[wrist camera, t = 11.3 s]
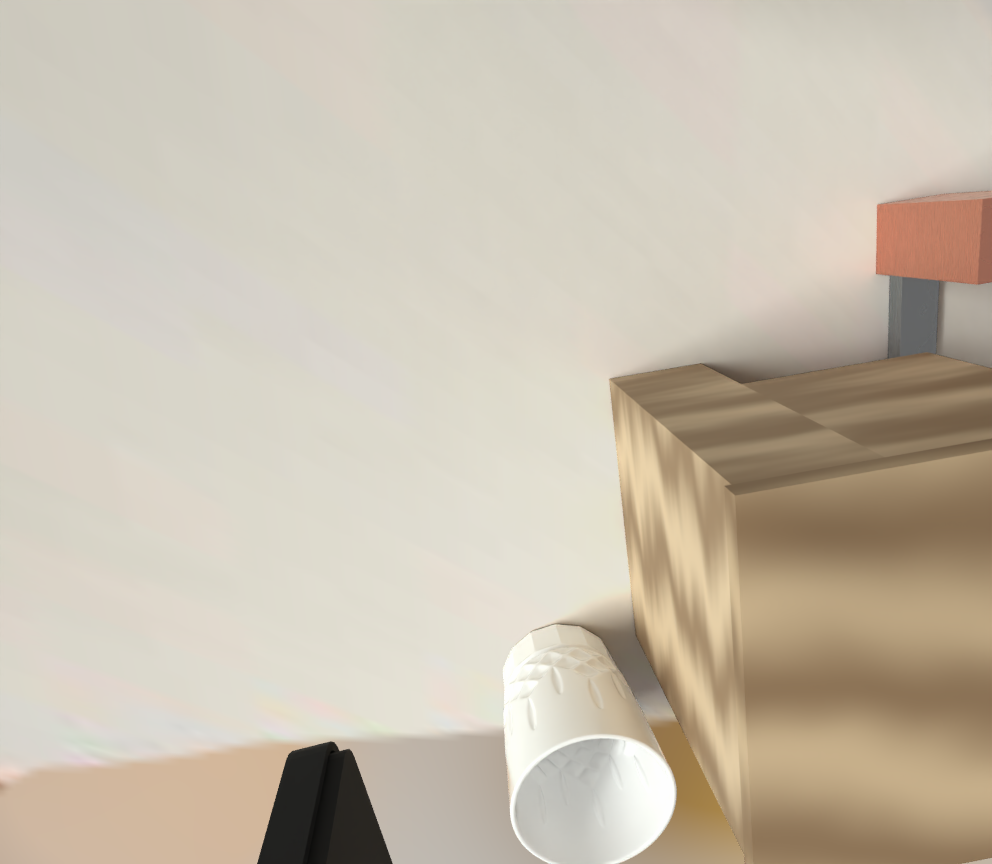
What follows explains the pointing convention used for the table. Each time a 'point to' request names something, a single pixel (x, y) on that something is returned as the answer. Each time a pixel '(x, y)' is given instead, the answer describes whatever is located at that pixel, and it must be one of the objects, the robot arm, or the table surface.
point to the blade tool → (930, 260)
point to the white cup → (580, 753)
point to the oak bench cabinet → (821, 599)
